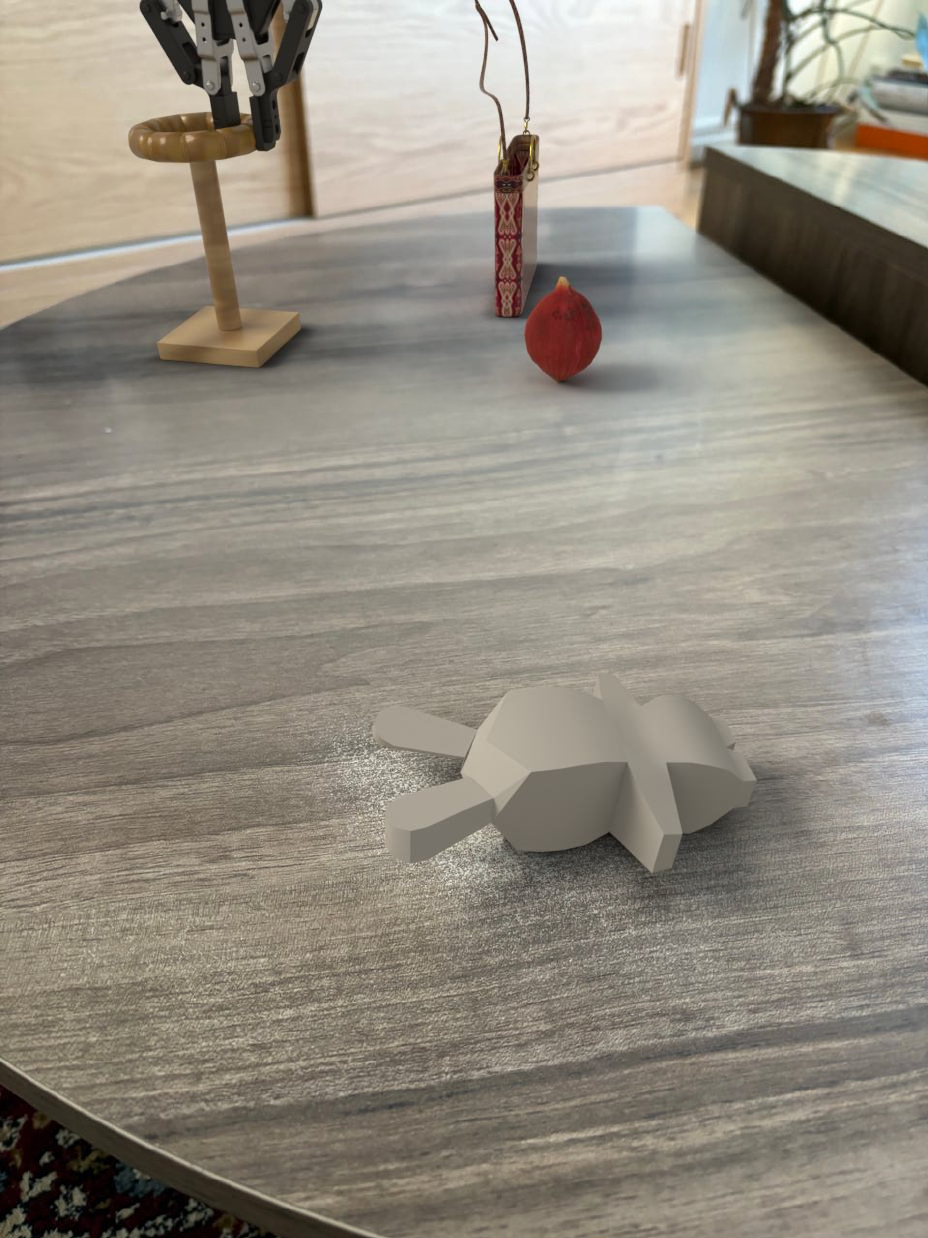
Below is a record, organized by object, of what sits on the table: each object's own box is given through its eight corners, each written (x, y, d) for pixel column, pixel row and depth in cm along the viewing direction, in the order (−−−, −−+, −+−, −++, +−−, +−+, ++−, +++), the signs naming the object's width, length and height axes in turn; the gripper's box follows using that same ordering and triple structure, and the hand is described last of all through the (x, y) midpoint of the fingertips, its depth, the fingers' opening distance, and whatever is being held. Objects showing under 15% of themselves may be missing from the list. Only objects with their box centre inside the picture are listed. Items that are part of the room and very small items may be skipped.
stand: (160, 359, 83) (117, 159, 74) (209, 321, 90) (175, 134, 81) (259, 368, 81) (228, 164, 72) (301, 328, 88) (277, 137, 79)
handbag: (547, 251, 105) (554, -33, 90) (525, 321, 88) (530, -11, 73) (479, 249, 106) (475, -31, 91) (445, 319, 89) (433, -10, 74)
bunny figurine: (797, 803, 37) (393, 823, 34) (760, 893, 40) (385, 918, 37) (709, 647, 44) (372, 653, 42) (683, 732, 47) (367, 743, 45)
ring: (105, 164, 73) (98, 134, 72) (171, 136, 82) (166, 109, 80) (235, 166, 71) (230, 135, 70) (289, 137, 79) (286, 109, 78)
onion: (613, 378, 78) (620, 275, 73) (568, 403, 74) (573, 296, 70) (554, 360, 81) (557, 260, 76) (509, 383, 78) (509, 280, 73)
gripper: (330, -142, 66) (352, 141, 77) (144, -136, 69) (190, 135, 80) (285, -143, 61) (316, 163, 71) (85, -137, 64) (143, 156, 74)
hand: (249, 147), depth 75 cm, fingers closed on ring, 2 cm apart
